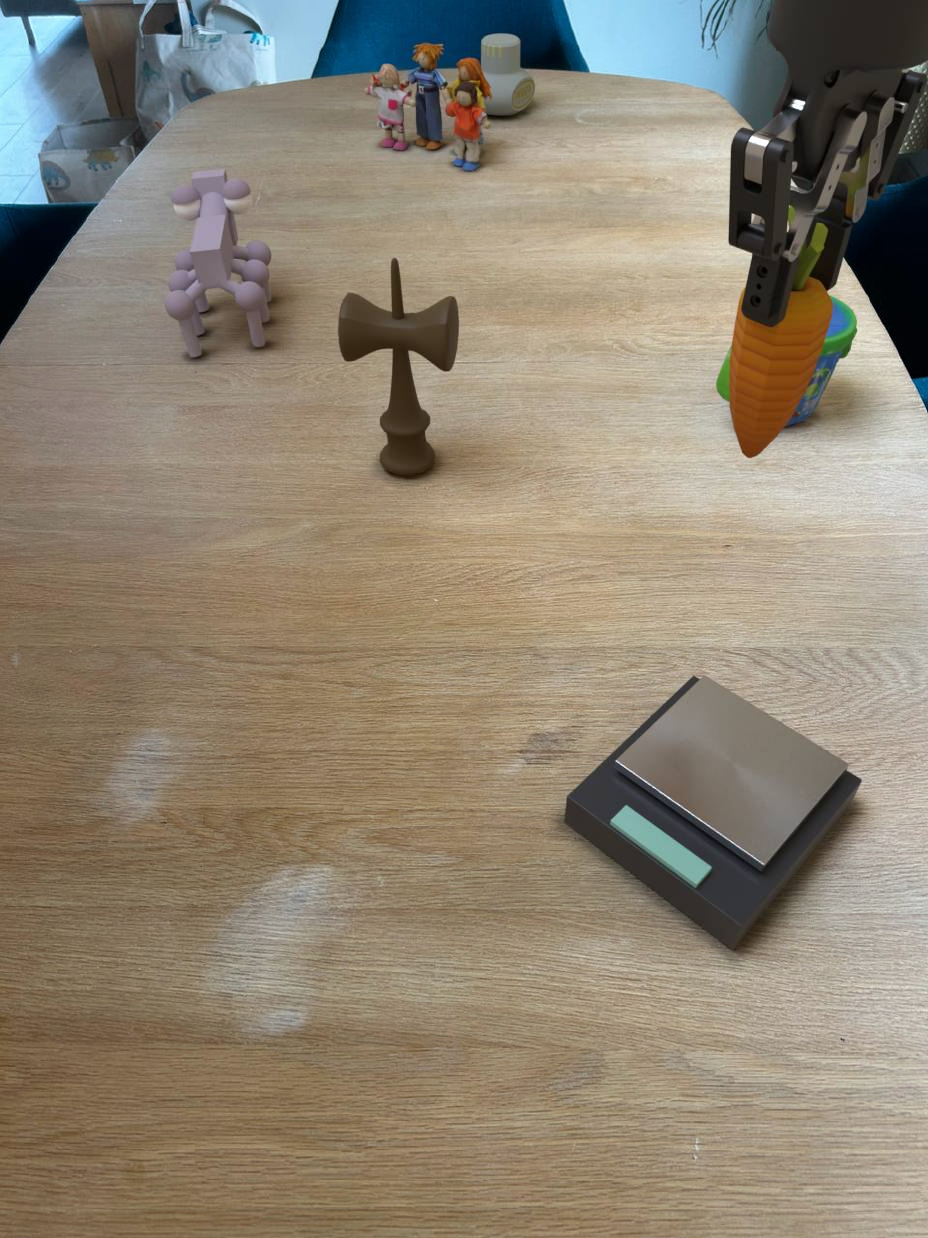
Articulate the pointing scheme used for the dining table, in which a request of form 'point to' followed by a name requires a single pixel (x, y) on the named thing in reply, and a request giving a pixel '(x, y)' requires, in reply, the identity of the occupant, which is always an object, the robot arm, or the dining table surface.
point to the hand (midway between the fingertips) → (788, 300)
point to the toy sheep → (217, 256)
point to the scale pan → (732, 770)
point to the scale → (692, 844)
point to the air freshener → (505, 75)
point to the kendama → (401, 364)
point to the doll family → (434, 104)
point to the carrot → (778, 355)
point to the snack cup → (832, 351)
